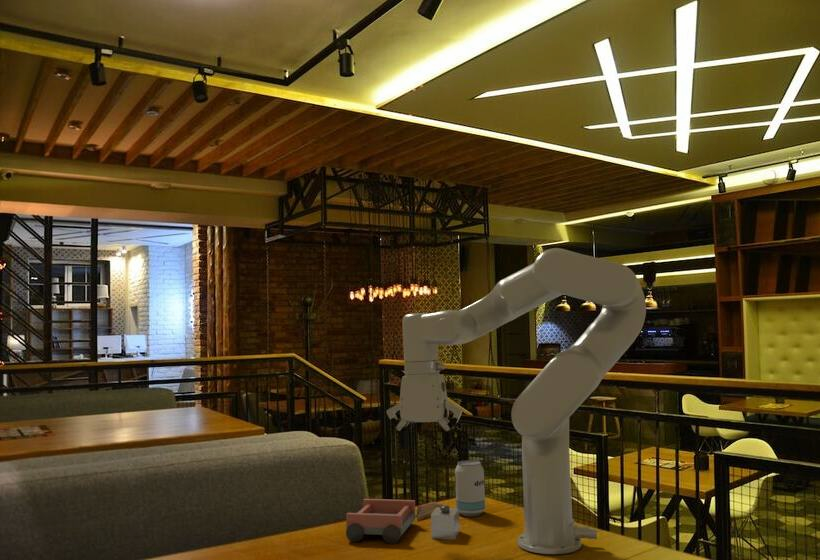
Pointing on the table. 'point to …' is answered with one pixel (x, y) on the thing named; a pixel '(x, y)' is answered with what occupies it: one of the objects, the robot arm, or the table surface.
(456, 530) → the cube with metal knob
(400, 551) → the table surface
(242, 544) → the table surface
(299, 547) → the table surface
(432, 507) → the shard
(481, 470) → the beverage can
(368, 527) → the chassis
